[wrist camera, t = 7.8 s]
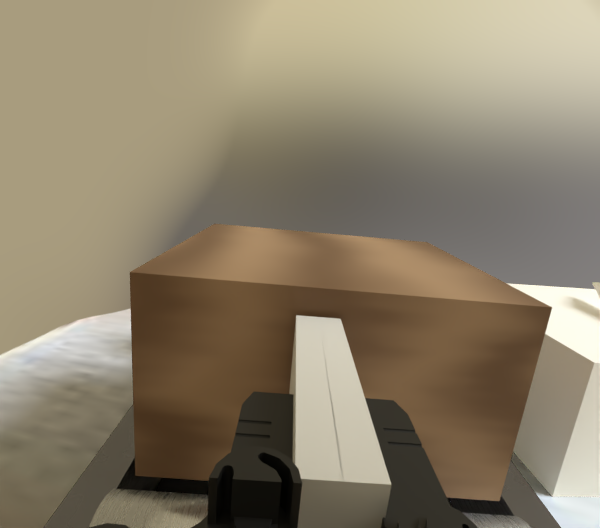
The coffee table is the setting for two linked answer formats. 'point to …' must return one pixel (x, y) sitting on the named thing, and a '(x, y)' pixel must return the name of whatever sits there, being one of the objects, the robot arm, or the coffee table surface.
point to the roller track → (194, 507)
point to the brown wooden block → (360, 335)
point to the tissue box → (565, 395)
